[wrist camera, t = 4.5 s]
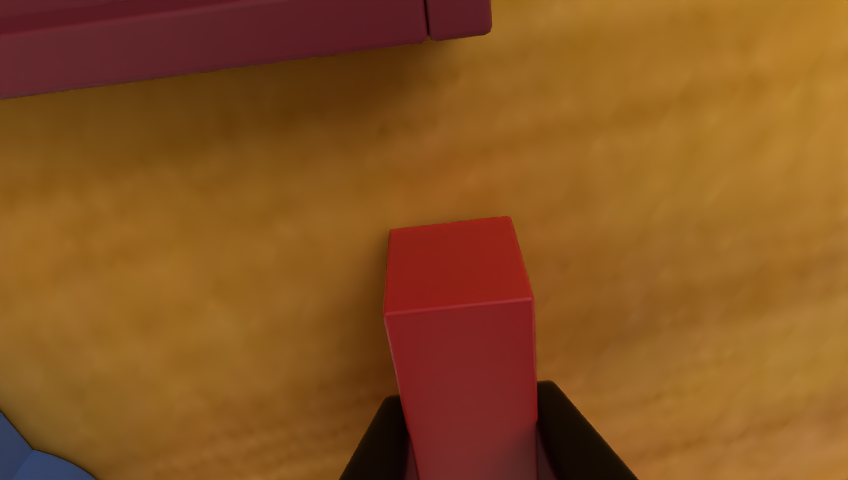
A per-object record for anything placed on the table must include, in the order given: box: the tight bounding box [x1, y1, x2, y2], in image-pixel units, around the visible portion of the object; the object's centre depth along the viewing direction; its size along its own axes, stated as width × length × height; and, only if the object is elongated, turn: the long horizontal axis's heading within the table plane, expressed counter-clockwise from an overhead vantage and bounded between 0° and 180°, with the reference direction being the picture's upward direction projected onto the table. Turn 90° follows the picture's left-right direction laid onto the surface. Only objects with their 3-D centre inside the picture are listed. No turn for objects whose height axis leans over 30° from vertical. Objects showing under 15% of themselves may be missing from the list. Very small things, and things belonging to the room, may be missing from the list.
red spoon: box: [383, 216, 538, 480], centre depth 9 cm, size 8×3×2 cm, turn 7°
